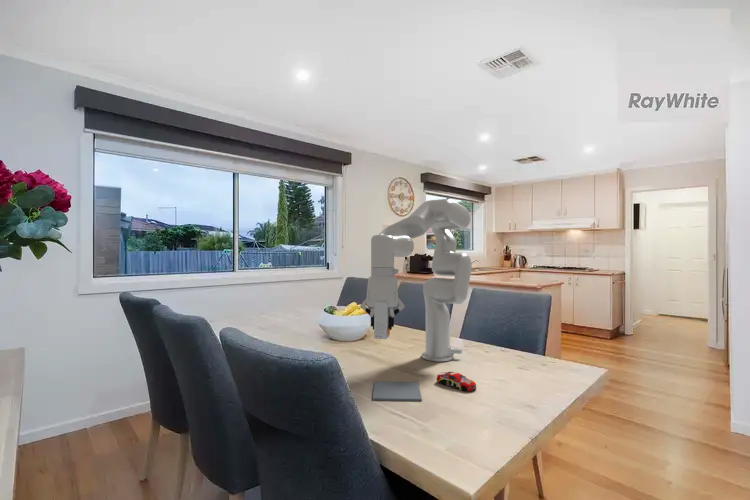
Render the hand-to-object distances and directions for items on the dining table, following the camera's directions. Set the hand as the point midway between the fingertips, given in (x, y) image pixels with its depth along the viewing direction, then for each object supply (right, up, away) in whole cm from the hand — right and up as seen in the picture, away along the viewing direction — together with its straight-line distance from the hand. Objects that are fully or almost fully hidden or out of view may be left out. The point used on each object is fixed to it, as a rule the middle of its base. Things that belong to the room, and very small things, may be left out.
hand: (382, 328), depth 124 cm
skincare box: (0, -3, 0) cm, 3 cm away
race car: (+23, -18, -3) cm, 30 cm away
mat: (+4, -17, -8) cm, 20 cm away
